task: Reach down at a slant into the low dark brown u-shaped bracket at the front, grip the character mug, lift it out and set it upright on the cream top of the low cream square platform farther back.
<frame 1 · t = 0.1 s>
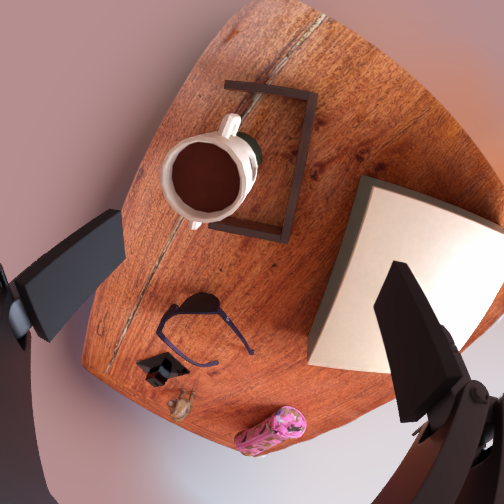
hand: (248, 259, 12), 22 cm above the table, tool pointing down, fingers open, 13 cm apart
character mug: (236, 156, 31), on the table
build plate: (162, 366, 55), on the table
dark brown u-shaped bracket: (257, 159, 31), on the table
sunglasses: (212, 328, 46), on the table
pencil case: (269, 419, 59), on the table
lion figurine: (184, 394, 59), on the table
cream square platform: (411, 285, 35), on the table
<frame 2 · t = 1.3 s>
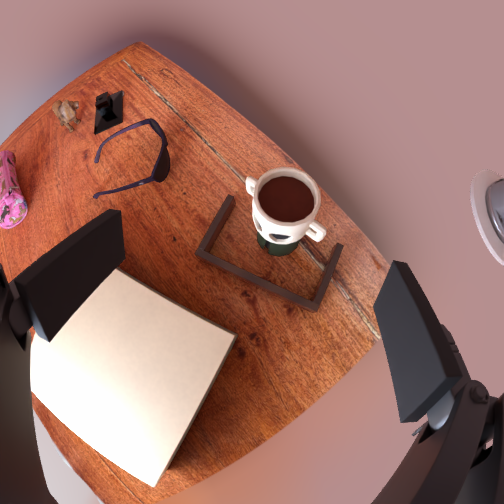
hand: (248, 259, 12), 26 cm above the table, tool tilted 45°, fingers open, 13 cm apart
character mug: (278, 237, 40), on the table
build plate: (109, 111, 49), on the table
dark brown u-shaped bracket: (271, 251, 39), on the table
sunglasses: (131, 168, 44), on the table
pencil case: (17, 194, 44), on the table
lion figurine: (73, 122, 49), on the table
cream square platform: (120, 364, 35), on the table
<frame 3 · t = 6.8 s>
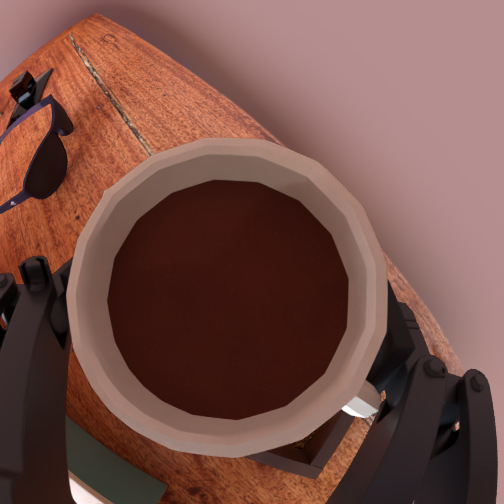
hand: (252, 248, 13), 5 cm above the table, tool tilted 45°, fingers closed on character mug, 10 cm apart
character mug: (244, 316, 18), on the table, touching gripper
build plate: (30, 97, 27), on the table
dark brown u-shaped bracket: (227, 350, 17), on the table
sunglasses: (25, 175, 22), on the table
cream square platform: (26, 468, 12), on the table
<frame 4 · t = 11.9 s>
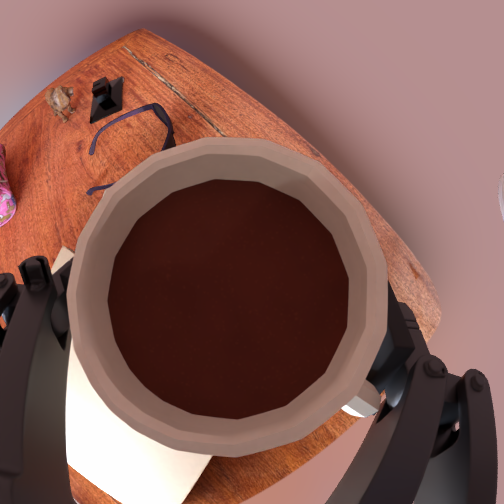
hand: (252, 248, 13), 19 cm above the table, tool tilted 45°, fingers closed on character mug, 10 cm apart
character mug: (244, 316, 18), point 14 cm above the table, touching gripper
build plate: (107, 99, 42), on the table
sunglasses: (130, 160, 38), on the table
pencil case: (6, 189, 38), on the table
lion figurine: (67, 111, 43), on the table
cream square platform: (120, 391, 28), on the table
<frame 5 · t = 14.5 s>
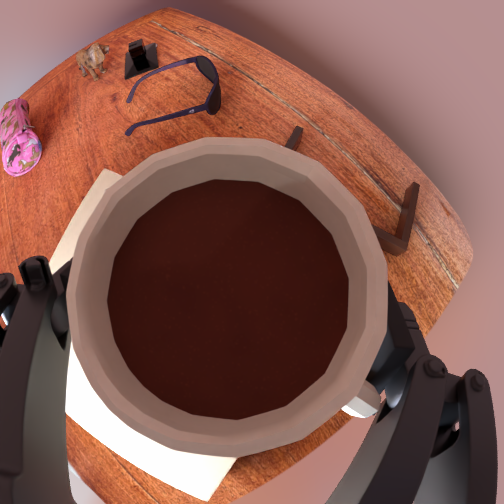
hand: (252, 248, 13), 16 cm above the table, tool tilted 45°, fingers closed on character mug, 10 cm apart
character mug: (244, 316, 18), point 11 cm above the table, touching gripper
build plate: (141, 60, 42), on the table
dark brown u-shaped bracket: (346, 188, 32), on the table
sunglasses: (172, 105, 37), on the table
pencil case: (28, 144, 37), on the table
lion figurine: (97, 72, 42), on the table
cream square platform: (155, 332, 28), on the table
when the fingers open (11 cm above the table, at t = 16.8 s): character mug stays where it is, resting on cream square platform.
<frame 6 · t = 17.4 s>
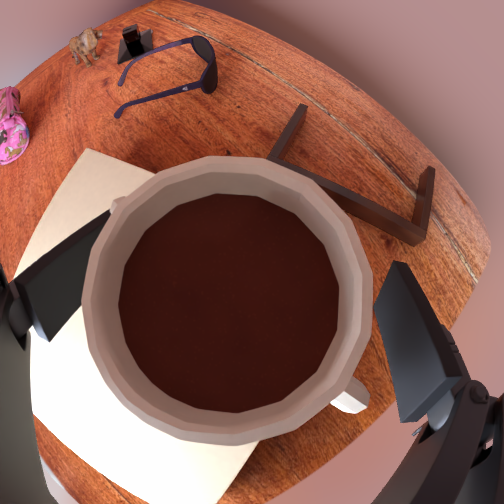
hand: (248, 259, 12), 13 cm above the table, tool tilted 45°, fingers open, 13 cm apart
character mug: (243, 318, 18), point 6 cm above the table, touching cream square platform
build plate: (135, 46, 38), on the table
dark brown u-shaped bracket: (356, 171, 28), on the table
sunglasses: (165, 87, 33), on the table
pencil case: (17, 132, 33), on the table
lion figurine: (90, 59, 38), on the table
cream square platform: (139, 332, 24), on the table
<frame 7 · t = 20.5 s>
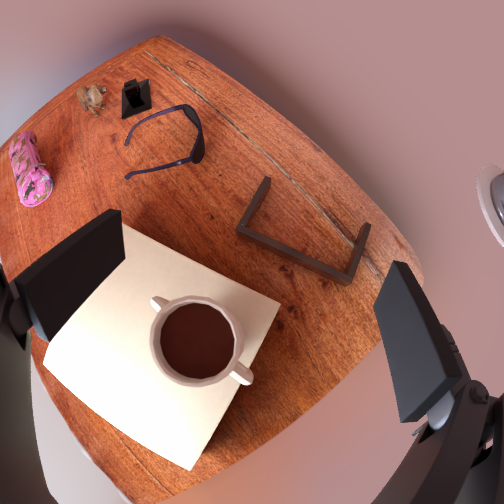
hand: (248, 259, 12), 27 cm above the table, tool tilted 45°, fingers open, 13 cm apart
character mug: (217, 337, 31), point 6 cm above the table, touching cream square platform
build plate: (136, 98, 51), on the table
dark brown u-shaped bracket: (305, 229, 41), on the table
sunglasses: (163, 151, 46), on the table
pencil case: (38, 174, 46), on the table
lion figurine: (97, 107, 51), on the table
cream square platform: (154, 343, 37), on the table
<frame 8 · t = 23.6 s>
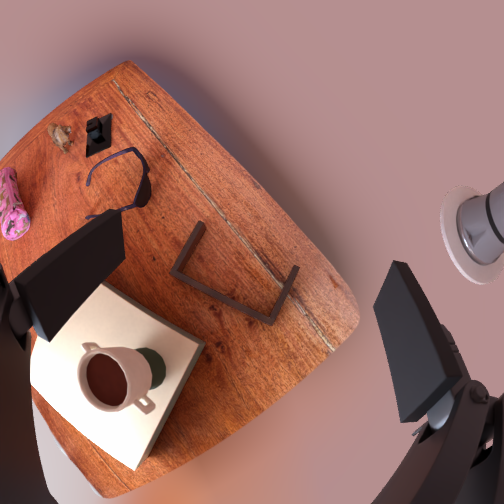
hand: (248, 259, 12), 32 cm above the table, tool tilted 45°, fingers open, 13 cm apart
character mug: (148, 367, 35), point 6 cm above the table, touching cream square platform
build plate: (99, 134, 54), on the table
dark brown u-shaped bracket: (235, 271, 44), on the table
sunglasses: (118, 192, 49), on the table
pencil case: (19, 207, 50), on the table
lion figurine: (67, 143, 54), on the table
cream square platform: (109, 365, 40), on the table
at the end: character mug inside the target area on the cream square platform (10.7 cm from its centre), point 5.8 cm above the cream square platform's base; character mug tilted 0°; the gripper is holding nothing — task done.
